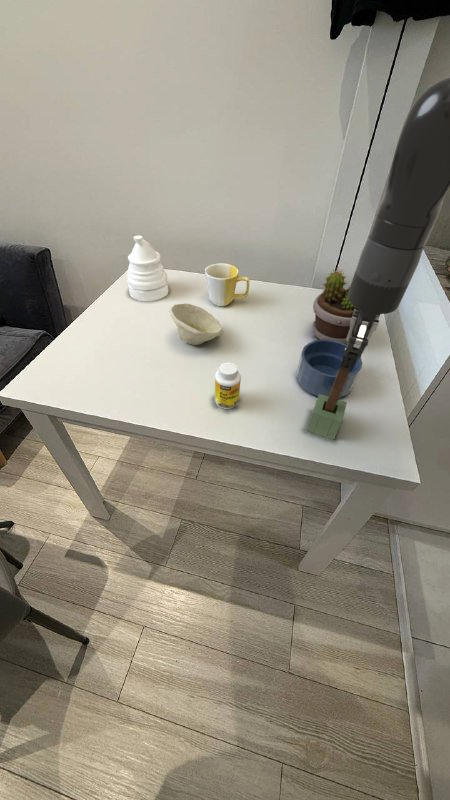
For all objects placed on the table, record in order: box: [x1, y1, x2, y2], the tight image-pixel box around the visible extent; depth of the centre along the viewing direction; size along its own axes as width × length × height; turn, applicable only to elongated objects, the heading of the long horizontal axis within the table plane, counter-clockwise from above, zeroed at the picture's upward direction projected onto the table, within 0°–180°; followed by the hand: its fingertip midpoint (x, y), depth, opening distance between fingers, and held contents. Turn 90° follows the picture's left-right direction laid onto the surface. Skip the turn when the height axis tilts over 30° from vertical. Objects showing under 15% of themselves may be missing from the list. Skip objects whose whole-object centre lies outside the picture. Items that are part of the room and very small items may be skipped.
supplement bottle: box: [214, 361, 242, 410], centre depth 72 cm, size 6×6×10 cm
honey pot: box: [126, 235, 169, 302], centre depth 103 cm, size 13×13×18 cm
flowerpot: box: [312, 266, 356, 345], centre depth 88 cm, size 14×15×20 cm
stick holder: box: [306, 394, 348, 440], centre depth 69 cm, size 6×6×6 cm
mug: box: [204, 262, 250, 307], centre depth 102 cm, size 14×10×10 cm
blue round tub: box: [295, 339, 363, 399], centre depth 79 cm, size 14×14×8 cm
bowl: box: [168, 303, 224, 346], centre depth 88 cm, size 15×14×10 cm
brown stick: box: [324, 368, 349, 413], centre depth 63 cm, size 2×2×20 cm
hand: (346, 365), depth 59 cm, fingers closed on brown stick, 2 cm apart
